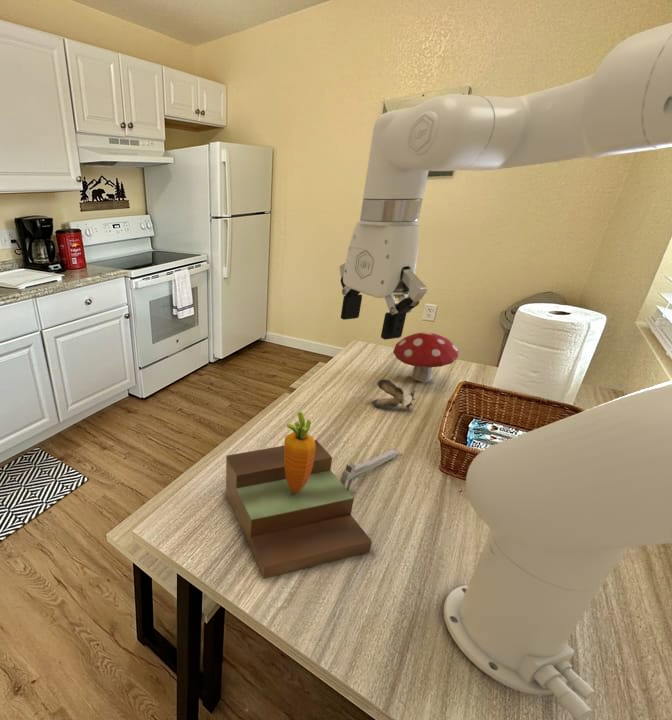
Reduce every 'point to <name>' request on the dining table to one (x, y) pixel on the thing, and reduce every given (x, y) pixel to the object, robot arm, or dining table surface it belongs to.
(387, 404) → the grey brown forked piece
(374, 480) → the dining table surface
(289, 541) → the brown stepped stand
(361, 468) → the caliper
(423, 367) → the decorative mushroom
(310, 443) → the carrot
